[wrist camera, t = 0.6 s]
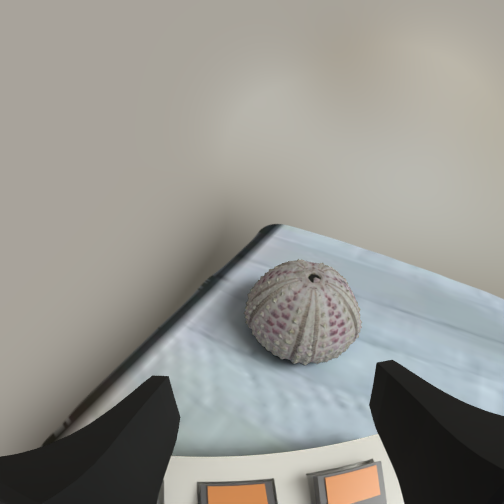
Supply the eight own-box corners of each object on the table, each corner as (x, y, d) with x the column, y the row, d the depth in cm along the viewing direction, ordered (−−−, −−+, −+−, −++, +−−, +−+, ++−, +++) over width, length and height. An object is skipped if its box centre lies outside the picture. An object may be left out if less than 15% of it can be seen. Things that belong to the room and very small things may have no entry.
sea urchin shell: (274, 274, 42) (281, 225, 37) (365, 310, 37) (386, 263, 32) (221, 341, 32) (221, 290, 27) (335, 392, 27) (361, 349, 23)
